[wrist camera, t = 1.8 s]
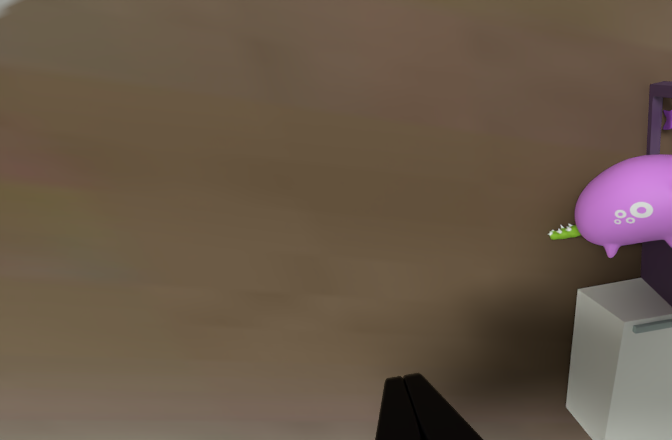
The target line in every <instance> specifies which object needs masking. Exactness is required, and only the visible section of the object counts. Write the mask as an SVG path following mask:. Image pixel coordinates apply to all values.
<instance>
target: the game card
mask: <svg viewBox="0 0 672 440" xmlns="http://www.w3.org/2000/svg"><path fill="white" fill-rule="evenodd" d="M663 97H666V98H672V82H668V81H663V82H659V83H655V84H651V85H650V94H649V114H648V135H647V155H644V156H638V157H634V158H630V159H627V160H624V161H621V162H619V163H617V164H615V165H613V166H611V167H610V168H608V169H606V170H605V171H603V172H602V173H600V174H599V175H598V176H597V177H595V178H594V179H593V180H592V181H591V182H590V183H589V184H588V185H587V186H586V187H585V188H584V190H583V191H582V193H581V194H580V196H579V198H578V200H577V203H576V207H575V223H576V225H571V224H569V227H568V226H567V228H564V227H563V226H562V225H561V229H559V228H558V231H554V230H552V231H550V234H548V235H550V238H551V239H552V240H556V239H567V238H570V237H577V236H581V235H582V236H583V237H584V238H585V239H586V240H588V241H589V242H591V243H594V244H597V245H601V246H604V248H605V250H606V253H607V256H608V257H609V258H612V257H614V256H615V255H616V253H617V251H618V248H619V247H620V246H623V245H630V244H636V243H642V257H641V278H642V279H643V280H644V281H645V282H646V283H647V284H648V285H649V286H650V287H652V288H653V289H654V290H655V291H656V292H657V293H658V294H659V295H660V296H661V297H662V298H663V299H664V300H665V301H666V302H667V303H668V304H669V305H670V306H671V307H672V155H659V154H660V138H661V122H662V106H663ZM663 112H664V114H665V116H666V118H667V121H666V123H665V125H664V127H663V129H664V130H668V129H671V128H672V110H671V111H666V110H663Z"/></svg>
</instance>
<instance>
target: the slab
mask: <svg viewBox="0 0 672 440" xmlns="http://www.w3.org/2000/svg"><path fill="white" fill-rule="evenodd" d="M566 408H567V409H568V410H569V411H570V413H571V414H572V415H573V416H574V418H575V419H576V420H577V421H578V422H579V424H580V425H581V426H582V427H583V429H584V430H585V431H586V432H587V434H588V435H589V436H590V437H591V438H592V440H672V307H671V306H670V305H669V304H668V303H667V302H666V301H665V300H664V299H663V298H662V297H661V296H660V295H659V294H658V293H657V292H656V291H655V290H654V289H653V288H652V287H650V286H649V285H648V284H647V283H646V282H645V281H644V280H643V279H642V278H636V279H631V280H625V281H620V282H614V283H609V284H603V285H598V286H592V287H587V288H581V289H578V292H577V301H576V311H575V321H574V331H573V341H572V350H571V360H570V370H569V380H568V390H567V400H566Z"/></svg>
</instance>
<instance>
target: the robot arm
mask: <svg viewBox="0 0 672 440" xmlns="http://www.w3.org/2000/svg"><path fill="white" fill-rule="evenodd" d="M375 440H483V439H482V438H481V437H480V436H479V435H478V433H477V432H476V431H475V430H474V429H473V428H472V427H471V426H470V425H469V424H468V423H467V422H466V421H465V420H464V419H463V418H462V417H461V416H460V414H459V413H458V412H457V411H456V410H455V409H454V408H453V407H452V406H451V405H450V404H449V403H448V402H447V401H446V400H445V399H444V398H443V397H442V396H441V394H440V393H439V392H438V391H437V390H436V389H435V388H434V387H433V386H432V385H431V384H430V383H429V382H428V381H427V380H426V379H425V378H424V377H423V376H422V375H421V374H420V373H414V374H409V375H405V376H404V377H403V378H402V377H401V376H398V377H392V378H387V379H386V380H385V384H384V390H383V396H382V402H381V408H380V414H379V420H378V426H377V432H376V438H375Z"/></svg>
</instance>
